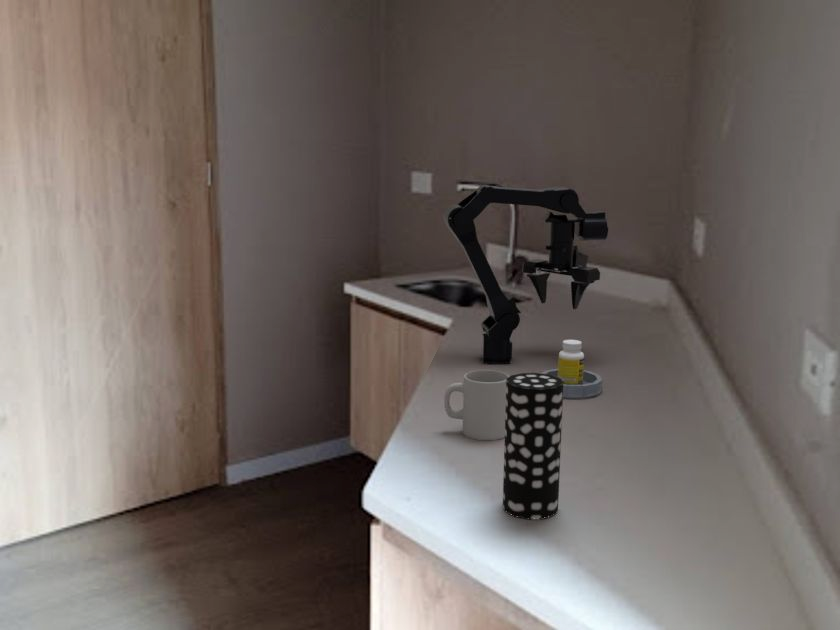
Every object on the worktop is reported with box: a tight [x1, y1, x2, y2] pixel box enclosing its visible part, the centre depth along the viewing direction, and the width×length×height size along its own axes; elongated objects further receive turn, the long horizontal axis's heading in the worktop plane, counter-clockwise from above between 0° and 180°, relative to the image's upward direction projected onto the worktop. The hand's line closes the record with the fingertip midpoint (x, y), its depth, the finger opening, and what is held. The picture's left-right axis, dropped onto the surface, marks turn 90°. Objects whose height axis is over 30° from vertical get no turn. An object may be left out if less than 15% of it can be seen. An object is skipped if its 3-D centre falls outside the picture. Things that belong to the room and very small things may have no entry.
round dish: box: [541, 368, 603, 400], centre depth 197 cm, size 13×13×3 cm
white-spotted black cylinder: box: [502, 372, 564, 520], centre depth 137 cm, size 8×8×20 cm
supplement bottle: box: [557, 339, 585, 385], centre depth 197 cm, size 5×5×10 cm
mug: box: [443, 369, 510, 441], centre depth 170 cm, size 12×8×11 cm
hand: (559, 306), depth 219 cm, fingers open, 9 cm apart
